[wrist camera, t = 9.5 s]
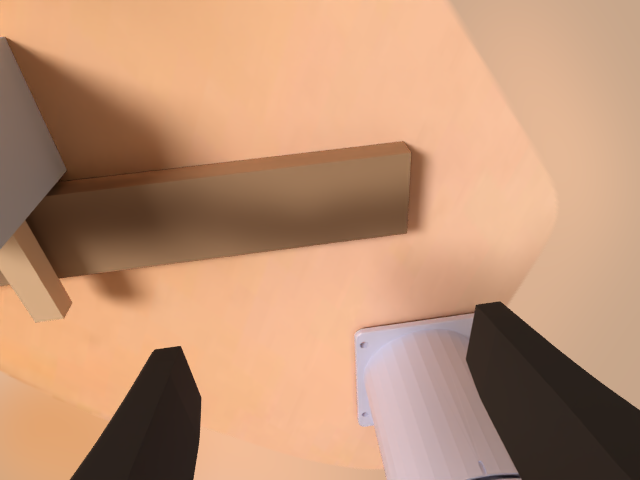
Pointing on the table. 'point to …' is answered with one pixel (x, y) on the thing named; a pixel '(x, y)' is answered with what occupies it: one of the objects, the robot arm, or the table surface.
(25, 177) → the grey tall block
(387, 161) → the board
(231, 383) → the table surface
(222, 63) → the table surface
